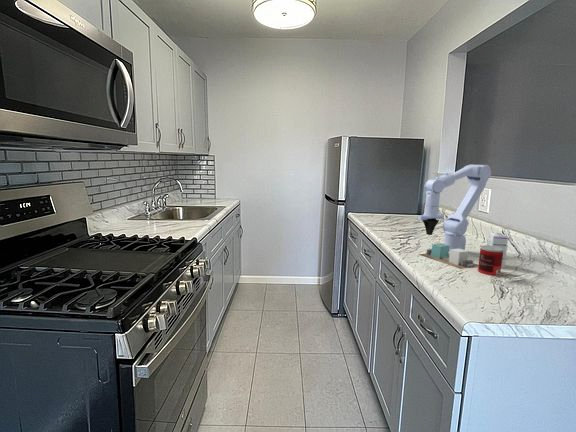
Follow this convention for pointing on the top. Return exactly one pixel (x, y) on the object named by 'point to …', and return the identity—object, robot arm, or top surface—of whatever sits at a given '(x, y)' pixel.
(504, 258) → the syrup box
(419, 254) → the mounting board
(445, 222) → the robot arm
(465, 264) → the steel rail
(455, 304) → the top surface
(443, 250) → the teal module
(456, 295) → the top surface
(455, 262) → the grey module
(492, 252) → the canned food
